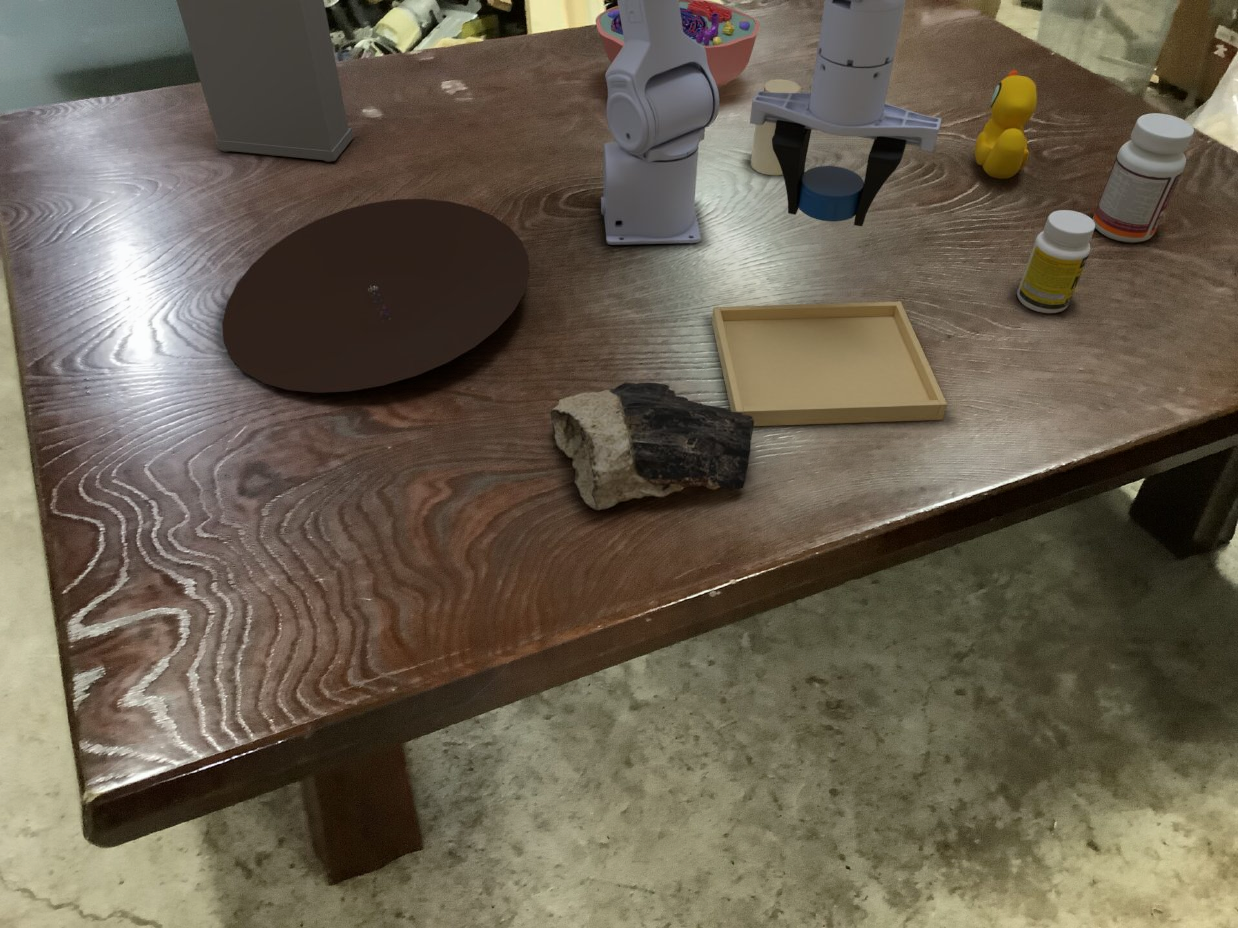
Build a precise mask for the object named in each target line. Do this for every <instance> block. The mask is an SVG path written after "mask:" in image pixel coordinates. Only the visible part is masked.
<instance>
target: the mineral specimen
mask: <svg viewBox="0 0 1238 928" xmlns="http://www.w3.org/2000/svg"><path fill="white" fill-rule="evenodd" d="M670 388H671V387H670V385H668V384H665V383H657V382H649V381H648V382H647V381H646V382H638V383H637V382H628V381H627V382H623V383H622V384H621V383H620V384H619V385H617V386H616V387H614V388H612V389H605V390H601V391H599V392H598V391H591V392H590V391H589V392H580V393H577V394H575V395H570V396H567V397H563V398H561V399H558V400H557V403H558V404H557V405H556V406H555V407H552V409H551V411H550V419H551V425H552V430H553V432H552V433H553V438H554V441H555V445H556V447H557V448H558V449H559V450H560V451H561V452H562V453H564V454H565V457H567V458H570V459H571V467H572V468H573V469H574V470H575V471H574V472H575V473H574V478H573V479H574V480H573V483H574V484H575V485H576V488H577V490H578V492H579V496H580V497H581V499H583V502H584V503H585V505H587V506H588V507H590V508H591V509H592V510H594V511H600V510H607V509H609V508H612V507H615V506H616V505H617V504H618V503H620V502H627V501H630V500H632V499H642V498H644V497H656V498H664V497H667V496H669V495H671V494H672V493H674V492H681V491H683V490H684V489H686V488H695V487H701V486H703V487H705V488H706V489H710V490H717V489H720V488H721V489H727V490H742V489H744V486H745V482H746V477H747V473H748V468H749V460H750V459H749V458H750V454H751V446H752V444H751V443H752V442H751V441H752V437H753V431H754V427H755V426H754V420H753V417H752V416H749V415H743V414H742V413H740V412H732V411H731V409H730V410H729V409H727V408H726V407H723V406H722V407H720V406H714V405H708V404H703V403H701V402H697V401H696V402H695V401H691V400H689V398H687V397H686V396H680V395H679V396H678V395H676V391H675V390H672V389H670Z"/></svg>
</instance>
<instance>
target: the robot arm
mask: <svg viewBox="0 0 1238 928" xmlns="http://www.w3.org/2000/svg"><path fill="white" fill-rule="evenodd" d="M906 2H907V0H824V3H823V9H822V16H821V22H820V23H821V24H820V29H819V37H818V42H817V49H816V54H815V55H816V57H815V61H814V62H815V63H814V68H813V75H812V76H813V77H812V83H811V88H810V89H811V91H810V92H801V93H775V92H764V90H758V91H756V93H755V95H754V96H753V99H752V101H751V109H750V117H749V118H750V119H749V123H750V124H752V125H755V124H757V125H763V124H764V122H768V123H775V124H776V128H775V133H774V136H773V138H772V146H773V150H774V152H775V154H776V157H777V159H778V161H779V164H780V167H781V170H782V173H783V175H782V177H783V181H784V184H785V191H786V196H787V197H786V199H787V214H790V215H795V216H796V215H797V212H798V210H799V207H798V198H799V190H800V183H801V177H802V175H803V173H804V172H806V170H805V169H806V161H807V156H808V150H809V145H810V139H811V134H812V131H819V132H823V133H825V134H829V135H834V136H839V137H857V138H864V139H870V140H873V143H872V145H871V147H870V151H869V153H868V158H867V163H866V169H865V175H864V180H863V182H864V186H863V192H862V196H861V199H860V202H859V206H858V209H857V212H856V215H855V216H854V222H853V226H856V227H863V226H864V222H865V219H866V216H867V213H868V211H869V209H870V207H871V205H872V203H873V201H874V200H875V198H876V196H877V194H878V193H879V191H880V190H881V189H882V187H883V186H884V184H885V183H886V182H887V180H888V179H889V178H890V176H891V175H892V174H893V173H894V172H895V171H896V169H898V167H899V165H900V164H901V161H902V159H903V157H904V153H905V149H906V145H908V146H916V147H918V148H919V150H920V151H922V152H927V153H935V147H936V143H937V139H938V136H939V135H938V134H939V131H940V127H941V123H942V118H941V117H936V116H930V115H927V114H923V113H919V112H915V111H912V110H909V109H905V108H902V107H899V106H896V105H893V104H891V103H890V104H889V103H887V102H886V99H887V96H888V95H887V94H888V90H889V86H890V85H889V84H890V81H891V75H892V70H893V66H894V60H895V55H896V51H897V46H898V42H899V37H900V32H901V26H902V22H903V17H904V13H905V8H906ZM617 6H618V7H619V13H620V19H621V24H622V30H623V35H624V41H625V43H624V45H623V47H622V49H621V50H620V52H619V53H618V55H617V56H616V58H615V59H614V61H613V62H612V64H611V63H610V66H608V68H607V70H606V71H605V74H604V75H605V82H606V87H607V101H606V121H607V126H608V129H609V131H610V134H611V136H612V137H613V139H614V140H613V141H607V142H604V143H603V149H602V150H603V156H602V157H603V159H602V160H603V162H602V163H603V165H602V166H603V167H602V169H603V170H602V172H603V173H602V174H603V175H602V176H603V180H602V183H603V185H602V187H603V188H602V189H603V191H602V193H603V195H602V196H601V197H600V212H601V216H603V218H604V219H603V220H604V228H605V240H606V241H605V242H606V243H607V244H608V245H610V246H621V245H622V246H623V245H659V244H660V245H661V244H663V245H664V244H665V245H666V244H696V243H700V242H701V241H702V235H701V231H700V227H699V222H698V218H697V213H696V210H695V203H696V189H697V188H696V187H697V174H698V161H699V160H698V159H699V144H700V143H701V142H702V141H703V140H705V133H706V128H709V127H710V126H711V125H712V124H713V123H714V122H715V121H716V119H717V116H718V114H719V110H720V94H719V93H720V92H719V88H717V85H716V82H715V80H714V78H713V76H712V74H711V72H710V69H709V66H708V63H707V56H706V50H705V48H704V47H703V46H701V45H700V44H699V43H697V42H696V41H694V40H693V39H691V38H690V37H689V36H687V35H686V34H685V33H684V32H683V27H682V20H681V13H680V7H679V0H617Z"/></svg>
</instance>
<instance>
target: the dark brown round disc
mask: <svg viewBox="0 0 1238 928" xmlns="http://www.w3.org/2000/svg"><path fill="white" fill-rule="evenodd" d="M529 263H530V261H529V255H528V253H527V251H526V248H525V246H524V244H523V242H522V240H521V238H520V237H519V236H518V235H517V234H516V233H515V232H514V230H513V229H512V228H511V227H510V226H509V225H507V224H506V223H504V222H503V221H502V220H500V219H498V218H497V217H495V216H494V215H492V214H491V213H488V212H485V211H483V210H481V209H478V208H476V207H473V206H469V205H466V204H461V203H457V202H453V201H449V200H441V199H440V200H438V199H429V198H405V199H404V198H403V199H401V198H400V199H399V198H398V199H397V198H396V199H391V200H384V201H383V200H382V201H376V202H369V203H365V204H361V205H357V206H353V207H349V208H346V209H343V210H339V211H336V212H334V213H331V214H329V215H326V216H323V217H321V218H318V219H316V220H314V221H312V222H311V223H308V224H306V225H304V226H302V227H300V228H299V229H296V230H295V231H292V232H291V233H290V234H288V235H287V236H285V237H284V238H282V239H281V240H280V241H278V242H276V243H275V244H274V245H273V246H271V247H270V248H268V249H267V250H266V251H265V252H264V253H263V254H262V255H261V256H260V257H258V259H257V260H256V261H254V262H253V263H252V264H251V265H250V266H249V267H248V269H247V270H246V271H245V273H244V274H243V275H242V277H241V278H240V279H239V281H238V282H237V283H236V285H235V287H234V289H233V291H232V292H231V295H230V297H229V299H228V300H227V303H226V306H225V310H224V314H223V319H222V322H221V324H222V325H221V326H222V340H223V343H224V346H225V348H226V351H227V353H228V355H229V357H230V359H231V360H232V361H233V362H234V363H235V364H236V366H237V367H238V368H239V369H241V371H242V372H243V373H244V374H247V375H248V376H250V377H252V378H253V379H256V380H257V381H259V382H261V383H262V384H265V385H268V386H273V387H276V388H280V389H284V390H287V391H293V392H294V391H295V392H296V391H297V392H306V393H307V392H308V393H316V394H319V393H320V394H321V393H322V394H323V393H340V392H341V393H342V392H353V391H359V390H365V389H371V388H377V387H382V386H386V385H389V384H393V383H397V382H400V381H403V380H406V379H410V378H413V377H417V376H419V375H421V374H422V375H423V374H424V373H426V372H429V371H431V370H434V369H436V368H438V367H441V366H443V365H445V364H448V363H449V362H452V361H453V360H455V359H456V358H458V357H459V356H461V355H463V354H465V353H467V352H468V351H470V350H472V349H474V348H476V347H477V346H478V345H479V344H480V343H482V342H483V341H484V340H486V339H487V338H488V337H489V336H491V335H492V334H493V333H495V332H496V331H497V330H498V329H499V328H500V327H501V326H502V325H503V324H504V322H506V320H507V319H508V318H509V317H510V316H511V315H512V314H513V312H514V311H515V310H516V308H517V306H518V305H519V303H520V301H521V300H522V298H523V296H524V295H525V292H526V288H527V286H528V285H527V284H528V281H529V276H530V264H529Z"/></svg>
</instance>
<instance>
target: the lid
mask: <svg viewBox="0 0 1238 928" xmlns="http://www.w3.org/2000/svg"><path fill="white" fill-rule="evenodd" d="M863 186H864V179H863V177H861V176H860V175H859V174H858V173H857V172H855V171H853V170H851V169H848V168H845V167H840V166H834V165H820V166H814V167H812V168H809V169H807V170H805V171H804V173H803V175H802V177H801V183H800V190H799V198H798V207H799V208H798V210H800V211H801V212H802V213H803V214H805V215H806V216H808V217H810V218H812V219H815V220H819V221H823V222H832V223H833V222H843V221H848V220H850V219H852V218H855V216H856V212H857V209H858V206H859V202H860V199H861V196H862V192H863Z"/></svg>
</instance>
